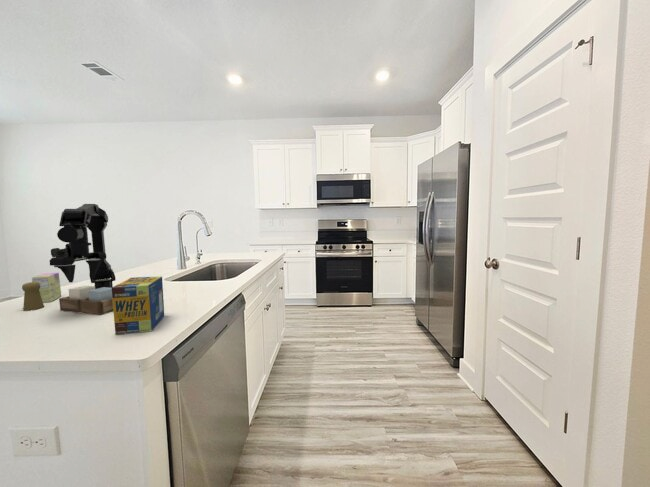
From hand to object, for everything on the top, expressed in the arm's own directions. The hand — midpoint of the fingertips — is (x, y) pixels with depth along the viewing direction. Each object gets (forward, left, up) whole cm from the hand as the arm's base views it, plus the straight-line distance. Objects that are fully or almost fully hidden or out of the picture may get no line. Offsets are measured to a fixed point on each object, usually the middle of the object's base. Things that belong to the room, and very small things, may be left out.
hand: (82, 279), depth 109 cm
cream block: (-3, -5, -8) cm, 10 cm away
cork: (+3, -25, -13) cm, 28 cm away
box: (-7, -34, -13) cm, 37 cm away
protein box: (+5, +35, -13) cm, 38 cm away
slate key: (-3, +6, -8) cm, 11 cm away
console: (-3, 0, -13) cm, 13 cm away
